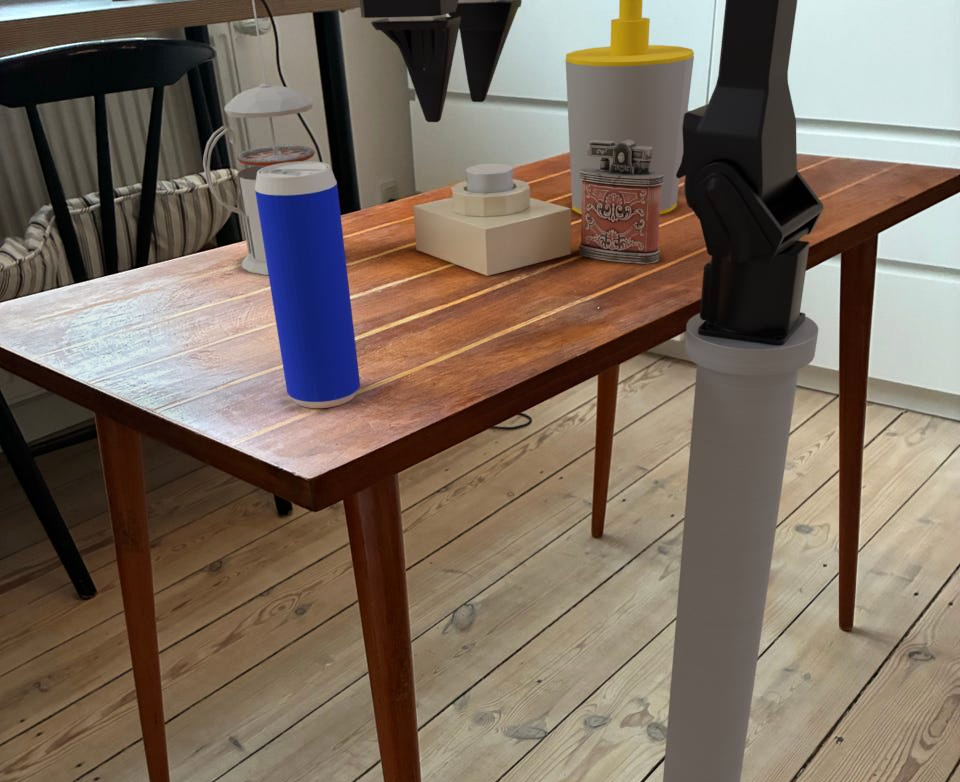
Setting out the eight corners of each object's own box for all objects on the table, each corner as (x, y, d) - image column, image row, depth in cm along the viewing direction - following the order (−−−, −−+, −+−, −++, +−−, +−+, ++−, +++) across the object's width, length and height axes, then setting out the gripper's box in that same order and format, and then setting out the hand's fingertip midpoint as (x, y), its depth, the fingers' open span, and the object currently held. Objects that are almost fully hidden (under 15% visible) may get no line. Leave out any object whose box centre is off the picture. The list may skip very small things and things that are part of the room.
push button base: (571, 254, 100) (571, 187, 96) (487, 276, 95) (484, 207, 91) (496, 230, 108) (494, 168, 104) (416, 250, 103) (411, 185, 100)
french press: (354, 264, 100) (318, -47, 85) (234, 284, 96) (176, -37, 82) (326, 241, 107) (289, -49, 93) (214, 258, 104) (157, -40, 89)
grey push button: (522, 191, 98) (522, 168, 96) (485, 199, 96) (484, 176, 94) (495, 184, 100) (494, 161, 99) (457, 192, 98) (456, 168, 97)
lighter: (665, 256, 98) (672, 140, 92) (649, 266, 95) (656, 147, 90) (589, 246, 101) (591, 134, 95) (572, 255, 99) (573, 141, 93)
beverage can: (372, 385, 75) (348, 161, 66) (342, 413, 71) (312, 179, 62) (308, 379, 76) (276, 159, 68) (275, 406, 72) (236, 177, 64)
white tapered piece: (576, 190, 120) (579, -26, 108) (690, 192, 117) (706, -31, 105) (552, 219, 110) (552, -16, 98) (676, 222, 107) (691, -20, 95)
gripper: (397, -125, 84) (414, 92, 93) (277, -124, 70) (311, 132, 79) (527, -135, 80) (532, 92, 89) (428, -135, 66) (445, 134, 75)
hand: (456, 111), depth 83 cm, fingers open, 9 cm apart
